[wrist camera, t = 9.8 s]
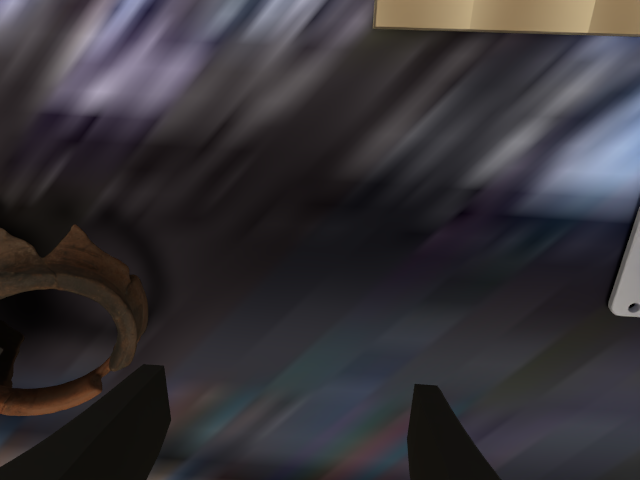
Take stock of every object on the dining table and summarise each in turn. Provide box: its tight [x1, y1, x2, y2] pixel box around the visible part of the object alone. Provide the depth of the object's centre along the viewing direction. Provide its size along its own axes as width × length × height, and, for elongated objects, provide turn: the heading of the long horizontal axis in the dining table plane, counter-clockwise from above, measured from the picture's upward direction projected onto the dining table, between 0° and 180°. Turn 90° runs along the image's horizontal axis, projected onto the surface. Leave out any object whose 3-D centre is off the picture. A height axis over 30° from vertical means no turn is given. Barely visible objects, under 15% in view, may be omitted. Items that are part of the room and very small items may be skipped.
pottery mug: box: [0, 224, 148, 416], centre depth 22 cm, size 12×10×8 cm
